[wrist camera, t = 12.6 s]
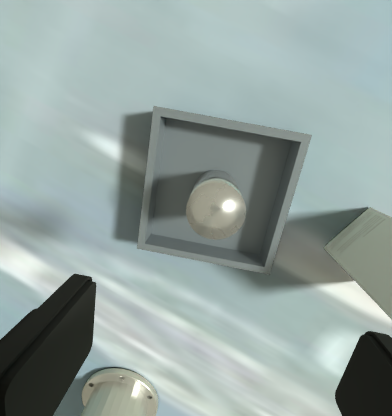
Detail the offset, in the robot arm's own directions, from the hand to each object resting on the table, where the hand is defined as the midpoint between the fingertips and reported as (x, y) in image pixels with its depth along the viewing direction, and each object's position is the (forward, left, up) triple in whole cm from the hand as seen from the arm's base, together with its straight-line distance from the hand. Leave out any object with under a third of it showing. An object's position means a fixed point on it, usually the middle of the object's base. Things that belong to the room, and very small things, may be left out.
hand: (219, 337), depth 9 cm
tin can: (0, 0, -21) cm, 21 cm away
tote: (+1, 0, -22) cm, 22 cm away
